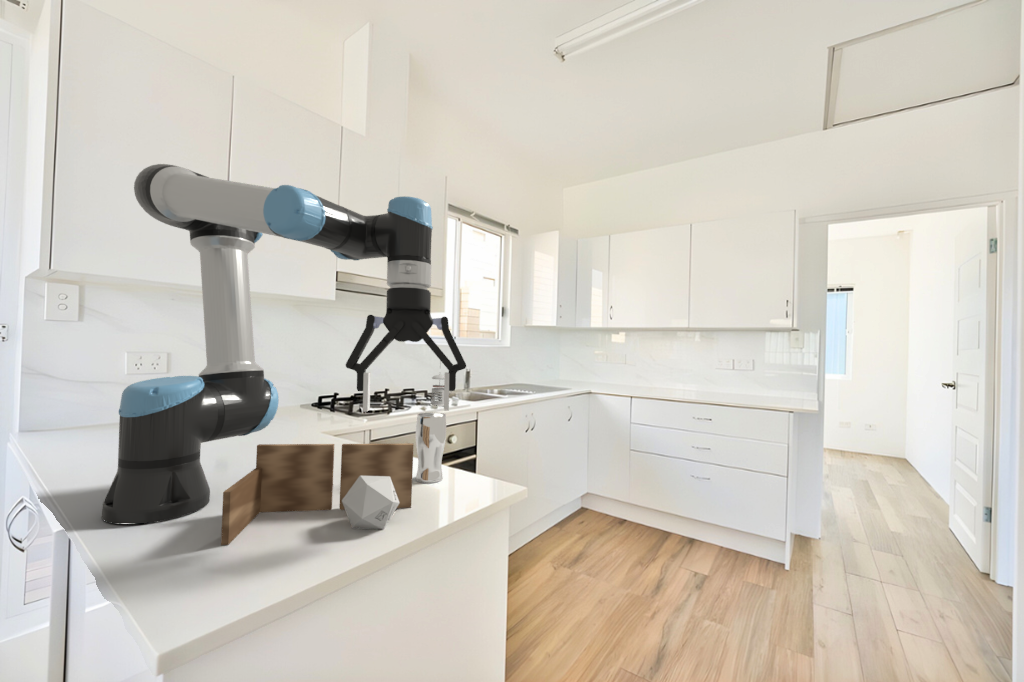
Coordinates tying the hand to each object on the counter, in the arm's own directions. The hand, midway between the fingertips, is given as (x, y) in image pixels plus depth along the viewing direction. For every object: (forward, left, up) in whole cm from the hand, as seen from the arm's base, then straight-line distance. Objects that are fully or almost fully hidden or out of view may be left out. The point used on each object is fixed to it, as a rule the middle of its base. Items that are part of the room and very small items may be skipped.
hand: (406, 410), depth 77 cm
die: (-5, 0, -20) cm, 21 cm away
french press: (+11, +148, -20) cm, 150 cm away
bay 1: (-20, +1, -20) cm, 28 cm away
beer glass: (+5, +25, -20) cm, 32 cm away
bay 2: (-5, +8, -20) cm, 22 cm away
